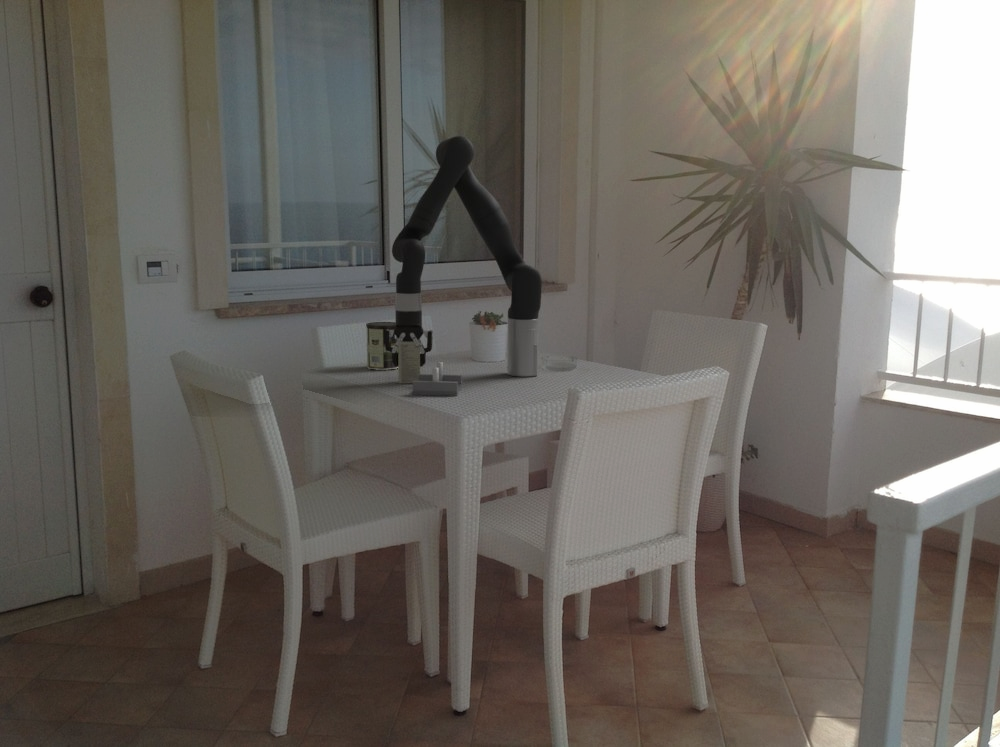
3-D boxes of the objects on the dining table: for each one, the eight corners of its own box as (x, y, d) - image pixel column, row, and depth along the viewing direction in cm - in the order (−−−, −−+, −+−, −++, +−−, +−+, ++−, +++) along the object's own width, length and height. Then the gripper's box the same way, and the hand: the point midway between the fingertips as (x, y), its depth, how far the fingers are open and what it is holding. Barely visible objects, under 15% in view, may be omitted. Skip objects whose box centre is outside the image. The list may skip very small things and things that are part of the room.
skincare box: (419, 380, 276) (419, 339, 274) (420, 383, 271) (420, 341, 269) (397, 381, 275) (397, 339, 272) (398, 383, 270) (398, 341, 268)
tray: (461, 387, 266) (461, 362, 265) (457, 395, 254) (457, 369, 253) (419, 386, 267) (419, 361, 266) (412, 394, 255) (412, 368, 254)
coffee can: (400, 365, 302) (399, 321, 299) (399, 370, 292) (398, 325, 289) (367, 365, 301) (367, 321, 299) (365, 370, 291) (364, 325, 288)
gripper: (435, 307, 272) (435, 364, 275) (386, 306, 273) (386, 363, 276) (431, 310, 265) (431, 368, 268) (381, 309, 266) (381, 367, 269)
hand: (408, 365), depth 272 cm, fingers closed on skincare box, 7 cm apart
